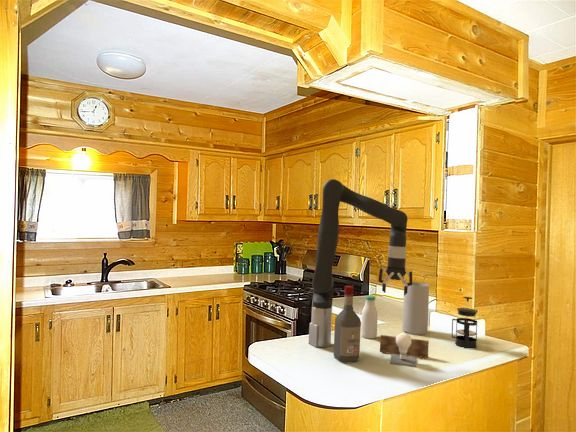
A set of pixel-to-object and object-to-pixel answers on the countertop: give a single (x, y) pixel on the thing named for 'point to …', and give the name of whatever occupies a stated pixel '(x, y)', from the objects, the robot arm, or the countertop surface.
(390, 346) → the brown wooden block
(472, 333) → the french press
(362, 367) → the countertop surface
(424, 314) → the cylinder vase
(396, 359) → the mat
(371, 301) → the milk bottle
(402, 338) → the lightbulb
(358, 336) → the liquor
